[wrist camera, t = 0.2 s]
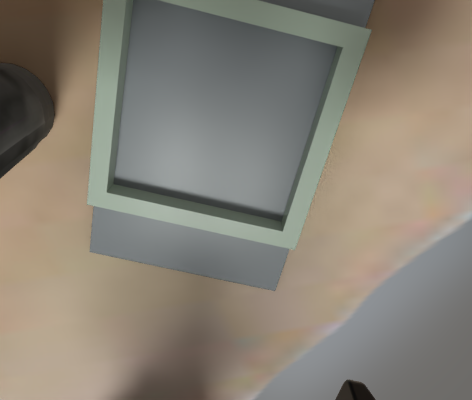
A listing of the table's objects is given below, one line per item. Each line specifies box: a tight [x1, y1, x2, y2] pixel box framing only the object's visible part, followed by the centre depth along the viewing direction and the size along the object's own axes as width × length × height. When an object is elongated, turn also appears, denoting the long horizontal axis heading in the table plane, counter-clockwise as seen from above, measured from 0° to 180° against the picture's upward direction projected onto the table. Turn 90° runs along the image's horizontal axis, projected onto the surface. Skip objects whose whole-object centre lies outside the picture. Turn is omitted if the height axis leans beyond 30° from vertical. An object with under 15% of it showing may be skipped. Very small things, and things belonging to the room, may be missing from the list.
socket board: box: [87, 0, 375, 291], centre depth 20 cm, size 22×12×2 cm, turn 167°
